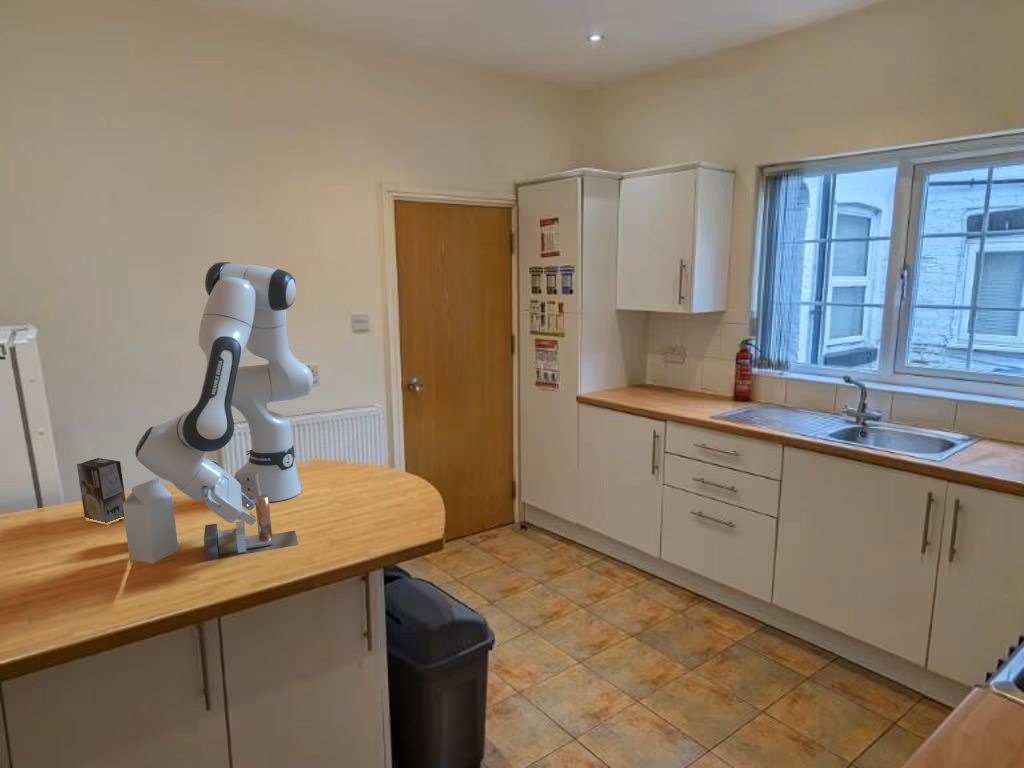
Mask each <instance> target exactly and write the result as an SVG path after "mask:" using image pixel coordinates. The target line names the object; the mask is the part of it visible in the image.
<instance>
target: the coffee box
mask: <svg viewBox="0 0 1024 768" xmlns="http://www.w3.org/2000/svg"><path fill="white" fill-rule="evenodd" d="M76 468H77V475H78V481H79V488H80V493H81V500H82V501H81V502H82V507H83V515H84V518H85V517H86V518H89V519H93V520H97V521H101V522H105V523H108V522H110V521H113V520H116V519H118V518H121V517H124V511H123V502H124V501H125V500H126V494H125V487H124V479H123V471H122V466H121V461H120V460H113V459H107V458H100V457H96V458H92V459H90V460H86V461H83V462H81V463H78V464H76Z"/></svg>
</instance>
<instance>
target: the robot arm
mask: <svg viewBox="0 0 1024 768" xmlns="http://www.w3.org/2000/svg"><path fill="white" fill-rule="evenodd" d="M204 287H205V291H206V294H207V295H208V299H207V301H206V303H205V307H204V310H203V313H202V316H201V321H200V323H199V324H200V326H199V332H198V345H199V347H200V349H201V350H202V352H203V354H205V357H206V370H205V374H204V378H203V382H202V383H203V384H202V387H201V391H200V395H199V400H198V402H197V404H196V405H195V406H194V407H193V409H190V410H187V411H186V412H184V413H183V414H181V415H180V414H179V416H177V417H175V418H173V419H170V420H169V421H166V422H164V423H162V424H158V425H154V426H150V427H148V429H147V430H146V431H145V433H144V434H143V435H142V437H141V438H140V439H139V442H138V443H137V446H136V448H135V454H134V455H135V457H136V460H137V461H138V462H139V463H140V464H142V466H144V467H145V468H146V469H147V470H148V471H150V472H151V473H153V474H154V475H155V476H157V477H158V478H159V479H161V480H164V481H167V482H170V483H171V484H173V485H174V486H175V488H176V489H178V490H179V491H180V492H182V493H183V494H185V495H186V496H188V497H190V498H191V499H192V500H194V501H196V502H199V501H201V500H202V499H203V500H204V505H205V506H206V508H208V509H209V510H210V511H212V512H213V513H214V514H216V515H217V516H218V517H219V518H221V519H223V520H224V521H225V522H227V523H230V524H233V523H234V522H235V521H236V520H238V521H244V523H246V524H248V525H250V526H252V525H254V524H255V523H256V521H257V516H255V515H253V514H252V513H248V512H247V511H252V510H253V509H254V508H255V507H256V502H255V498H256V497H257V496H261V495H267V496H269V503H271V502H279V501H280V502H281V501H284V500H287V499H291V498H294V497H296V496H298V495H299V494H301V492H302V483H301V480H300V478H299V473H298V468H297V464H296V460H295V457H296V456H295V453H296V451H295V447H294V445H293V440H292V439H293V438H292V437H293V436H292V425H291V421H290V420H289V419H288V418H287V416H285V415H283V414H281V413H278V412H274V411H271V410H269V409H268V405H267V404H269V403H273V402H281V401H282V402H283V401H290V400H291V401H293V400H295V399H298V398H302V397H305V396H308V395H309V393H310V392H311V391H312V388H313V387H314V376H313V373H312V371H311V369H310V368H309V367H308V366H307V365H306V364H305V363H303V362H301V361H300V360H298V359H297V358H296V356H294V354H293V353H292V351H291V349H290V346H289V340H288V326H287V325H288V323H287V322H288V321H287V310H288V309H289V308H290V307H292V305H293V304H294V301H295V298H296V296H297V283H296V279H295V278H294V277H293V275H292V274H291V273H290V272H287V271H286V270H283V269H280V268H279V269H278V268H277V269H275V268H272V267H267V266H263V265H258V264H246V263H245V264H244V263H231V262H229V261H225V262H224V261H222V262H215V263H214V264H212V266H210V267H209V268H208V270H207V272H206V274H205V279H204ZM246 349H247V350H248V351H249V352H250V354H252V355H254V356H257V357H259V358H261V359H265V360H267V361H268V362H267V363H265V364H258V365H245V366H239V365H240V362H241V360H242V358H243V354H244V352H245V350H246ZM232 407H234V408H235V409H236V410H237V411H239V412H240V413H241V415H242V416H243V418H244V419H245V420H246V423H247V425H248V428H249V433H250V434H249V435H250V440H251V449H250V450H246V451H245V452H246V456H249V458H248V461H247V462H246V463H245V464H244V465H243V466H241V467H240V468H239V469H238V470H236V472H235V474H234V476H232V475H231V474H230V473H229V472H227V470H225V469H223V468H222V467H221V464H220V463H219V462H218V461H217V460H214V459H212V460H210V459H209V458H207V457H206V456H204V454H205V453H206V452H214V451H215V452H216V451H219V450H221V449H222V448H224V447H225V446H226V445H228V444H229V442H230V441H231V440H232V438H233V436H234V433H235V432H234V431H235V422H234V421H235V420H234V417H233V411H232ZM243 507H244V508H245V509H246V510H247V511H245V509H243Z"/></svg>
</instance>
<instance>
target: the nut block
mask: <svg viewBox="0 0 1024 768" xmlns="http://www.w3.org/2000/svg"><path fill="white" fill-rule="evenodd" d="M218 545H219V554H222V553H228V552H234V551H238V547H237V537H236V528H231V529H224V530H218Z"/></svg>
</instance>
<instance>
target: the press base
mask: <svg viewBox="0 0 1024 768" xmlns="http://www.w3.org/2000/svg"><path fill="white" fill-rule="evenodd" d="M218 531H219V530H218V524H217V523H211V524H206V525H205V526H204V534H203V535H204V536H203V547H204V554H205V562H208V561H214V560H219V559H223V558H224V559H225V558H230V557H236V556H242V555H247V554H254V553H260V552H266V551H271V550H277V549H282V548H283V549H284V548H288V547H295V546H299V542H298V538H297V533H296V530H291V531H290V530H289V531H283V532H279V533H272V539H273V545H267V546H261V547H255V548H249V549H246V552H241V553H238V551H234V552H228V553H222V554H219V545H218Z"/></svg>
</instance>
